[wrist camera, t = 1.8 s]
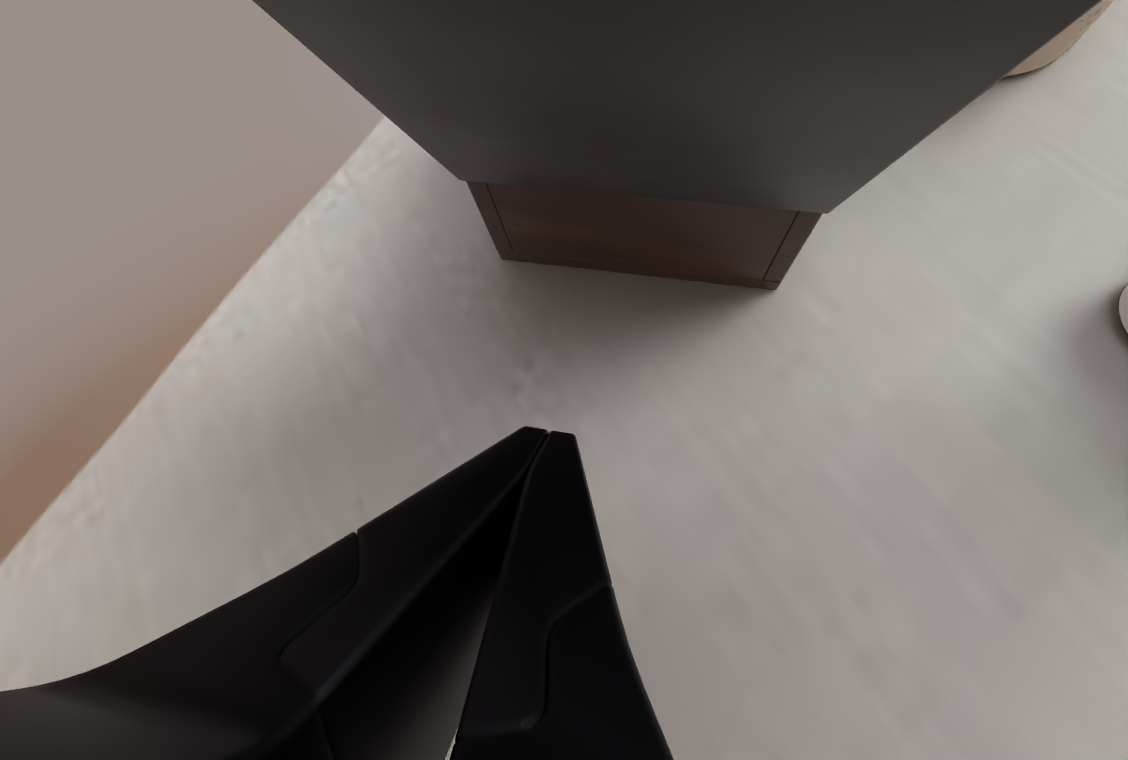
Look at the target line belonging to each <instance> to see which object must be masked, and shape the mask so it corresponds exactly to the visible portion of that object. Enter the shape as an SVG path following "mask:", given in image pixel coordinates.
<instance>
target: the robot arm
mask: <svg viewBox="0 0 1128 760" xmlns="http://www.w3.org/2000/svg"><path fill="white" fill-rule="evenodd" d="M611 585H612V582H611V578H610V574H609V570H608V566H607V562H606V558H605V554H604V550H603V546H602V542H601V537H600V533H599V529H598V525H597V521H596V517H595V513H594V509H593V505H592V501H591V497H590V493H589V489H588V485H587V481H586V477H585V472H584V468H583V464H582V460H581V456H580V452H579V448H578V444H577V440H576V437H575V435H574V434H571V433H564V432H558V431H551V432H550V433H549V432H548V431H547V430H545V429H540V428H534V427H528V426H525V427H522V428H520V429H519V430H517V431H515V432H514V433H512V434H510V435H509V436H507V437H506V438H504V439H502V440H501V441H499V442H498V443H496V444H494V445H493V446H491V447H489V448H488V449H486V450H485V451H483V452H481V453H480V454H478V455H477V456H475V457H473V458H472V459H470V460H468V461H467V462H465V463H464V464H462V465H460V466H459V467H457V468H456V469H454V470H452V471H451V472H449V473H447V474H446V475H444V476H443V477H441V478H439V479H438V480H436V481H435V482H433V483H431V484H430V485H428V486H426V487H425V488H423V489H422V490H420V491H418V492H417V493H415V494H414V495H412V496H410V497H409V498H407V499H405V500H404V501H402V502H401V503H399V504H397V505H396V506H394V507H393V508H391V509H389V510H388V511H386V512H384V513H383V514H381V515H380V516H378V517H376V518H375V519H373V520H372V521H370V522H368V523H367V524H365V525H363V526H362V527H360V528H359V529H358V530H357V534H356V533H355V532H352V533H350V534H349V535H347V536H345V537H344V538H342V539H340V540H339V541H337V542H336V543H334V544H332V545H331V546H329V547H327V548H326V549H324V550H322V551H321V552H319V553H317V554H316V555H314V556H312V557H310V558H309V559H307V560H305V561H304V562H302V563H300V564H299V565H297V566H295V567H293V568H292V569H290V570H288V571H286V572H284V573H283V574H281V575H279V576H277V577H275V578H273V579H271V580H269V581H268V582H266V583H264V584H262V585H260V586H258V587H256V588H255V589H253V590H251V591H249V592H247V593H245V594H243V595H241V596H239V597H237V598H236V599H234V600H232V601H230V602H228V603H226V604H224V605H222V606H220V607H218V608H216V609H214V610H212V611H210V612H208V613H206V614H204V615H202V616H201V617H199V618H197V619H195V620H193V621H191V622H189V623H187V624H185V625H183V626H181V627H179V628H177V629H175V630H173V631H171V632H169V633H168V634H166V635H164V636H162V637H160V638H158V639H156V640H154V641H152V642H150V643H148V644H146V645H144V646H142V647H140V648H138V649H136V650H134V651H133V652H131V653H128V654H126V655H124V656H122V657H120V658H118V659H116V660H114V661H112V662H110V663H107V664H105V665H102V666H100V667H97V668H95V669H92V670H90V671H87V672H84V673H81V674H78V675H75V676H72V677H69V678H66V679H63V680H59V681H55V682H51V683H46V684H42V685H38V686H33V687H27V688H21V689H15V690H8V691H1V692H0V760H445V757H446V755H447V752H448V750H449V748H450V745H451V743H452V740H453V738H454V735H455V733H456V730H457V728H458V730H457V734H456V738H455V744H454V746H453V749H452V753H451V756H450V760H673V757H672V755H671V752H670V750H669V747H668V745H667V742H666V740H665V737H664V735H663V732H662V730H661V727H660V725H659V723H658V720H657V718H656V715H655V713H654V710H653V708H652V705H651V703H650V700H649V698H648V695H647V693H646V690H645V688H644V685H643V683H642V680H641V677H640V674H639V672H638V669H637V666H636V663H635V661H634V658H633V655H632V652H631V650H630V647H629V644H628V640H627V637H626V633H625V630H624V627H623V623H622V620H621V616H620V613H619V609H618V605H617V601H616V597H615V593H614V589H613V587H612V586H611Z"/></svg>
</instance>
